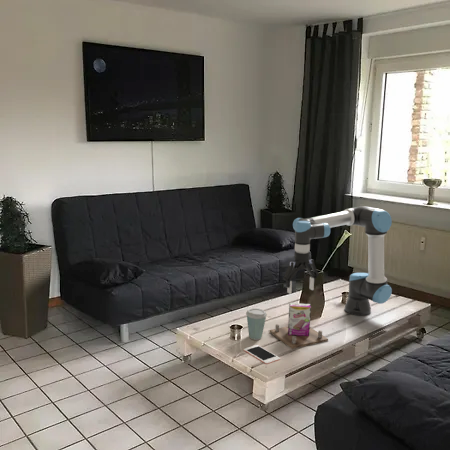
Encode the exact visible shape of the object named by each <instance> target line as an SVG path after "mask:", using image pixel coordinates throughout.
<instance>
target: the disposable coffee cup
mask: <svg viewBox="0 0 450 450" xmlns="http://www.w3.org/2000/svg"><path fill="white" fill-rule="evenodd" d="M245 314H246V321H247V331H248V337H249V339H251V340H253V341H254V340H255V341H256V340H257V341H258V340H261V338H262V337H263V334H264V329H265V324H266V319H267V316H268V314H267V312H266V310H264V309H261V308H248V310H247V311H246V313H245Z"/></svg>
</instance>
